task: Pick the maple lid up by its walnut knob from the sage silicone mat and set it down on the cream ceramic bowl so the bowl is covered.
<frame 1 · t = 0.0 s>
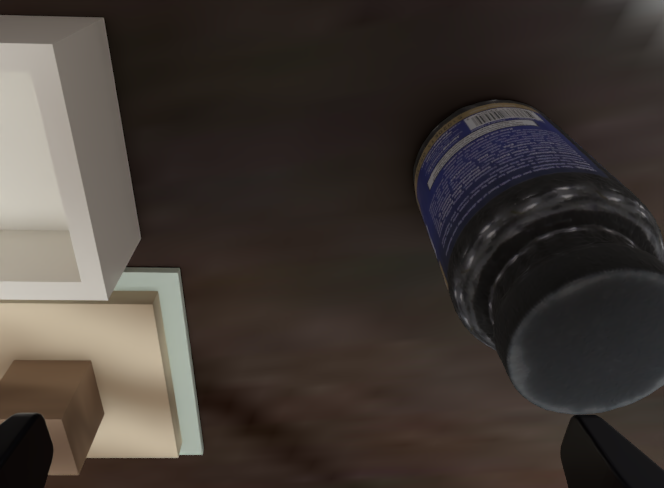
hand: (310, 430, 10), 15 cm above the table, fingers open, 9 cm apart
lid: (68, 373, 28), resting on mat
pill bottle: (484, 166, 23), on the table
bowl: (7, 137, 22), on the table
mat: (71, 367, 28), on the table
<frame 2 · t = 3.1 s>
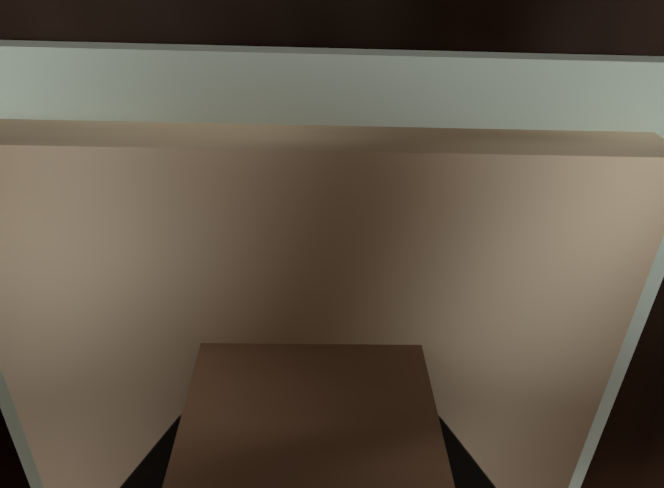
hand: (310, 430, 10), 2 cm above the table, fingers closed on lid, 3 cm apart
lid: (311, 379, 11), resting on mat, touching gripper
mat: (311, 365, 11), on the table
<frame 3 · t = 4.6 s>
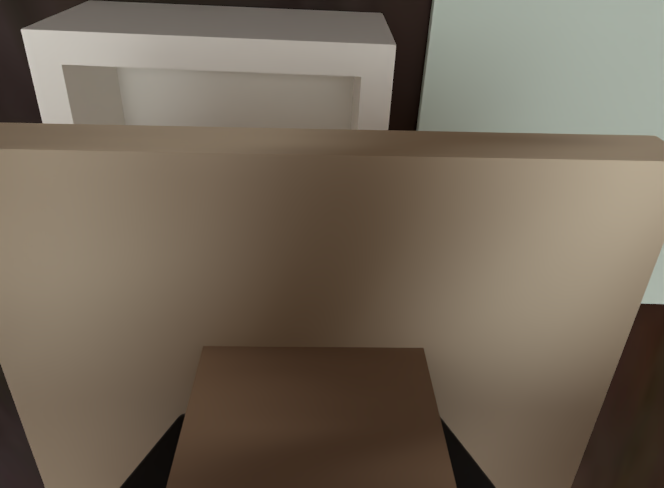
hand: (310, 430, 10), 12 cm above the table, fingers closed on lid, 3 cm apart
lid: (313, 382, 11), point 11 cm above the table, touching gripper
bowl: (242, 144, 20), on the table
mat: (582, 157, 20), on the table
when the fingers open (7 cm above the table, at t = 6.3 s): lid drops 1 cm, resting on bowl.
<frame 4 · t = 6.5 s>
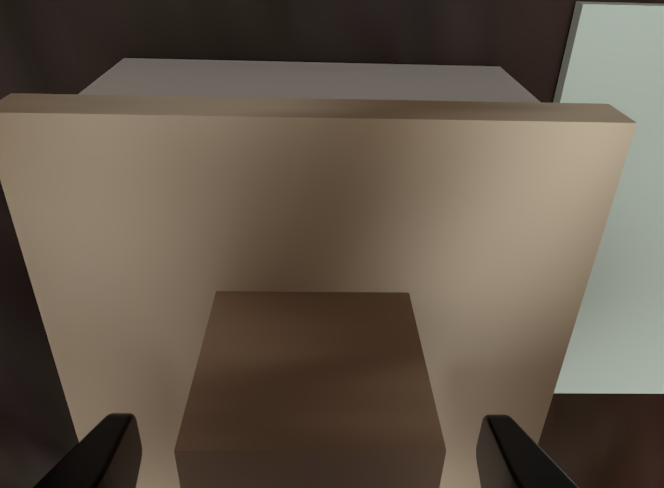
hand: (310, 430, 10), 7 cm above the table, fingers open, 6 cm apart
lid: (312, 331, 12), point 4 cm above the table, touching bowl
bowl: (312, 226, 16), on the table
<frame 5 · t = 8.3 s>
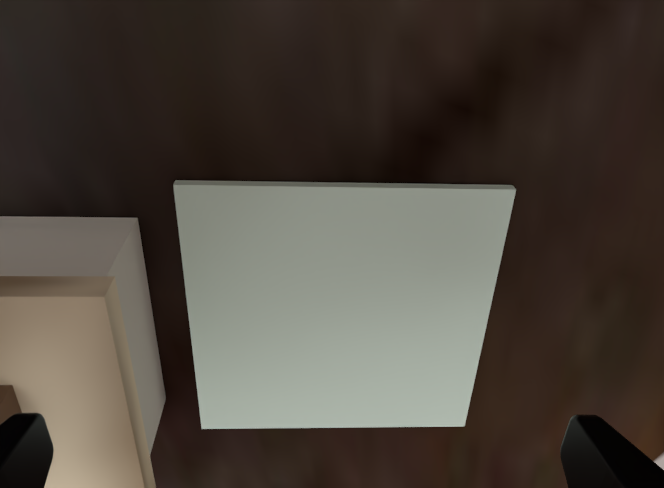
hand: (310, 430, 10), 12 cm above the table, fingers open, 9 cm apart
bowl: (38, 316, 22), on the table
mat: (339, 317, 23), on the table
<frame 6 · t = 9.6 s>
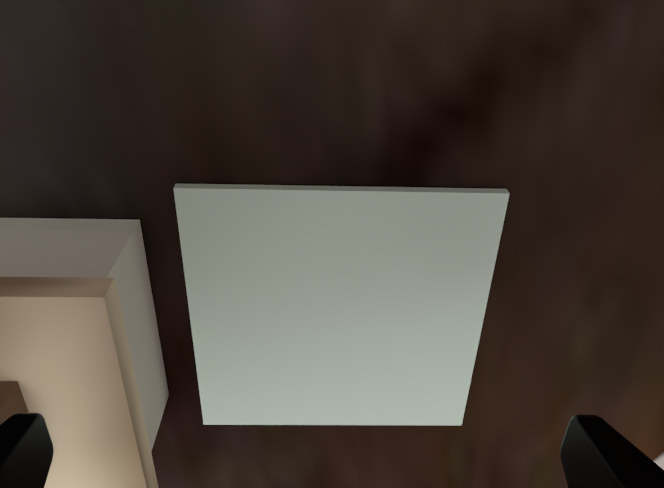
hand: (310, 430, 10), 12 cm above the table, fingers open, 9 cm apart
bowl: (45, 314, 23), on the table
mat: (337, 317, 24), on the table
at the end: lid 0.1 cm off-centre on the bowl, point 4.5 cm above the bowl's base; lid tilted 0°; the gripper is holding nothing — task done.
